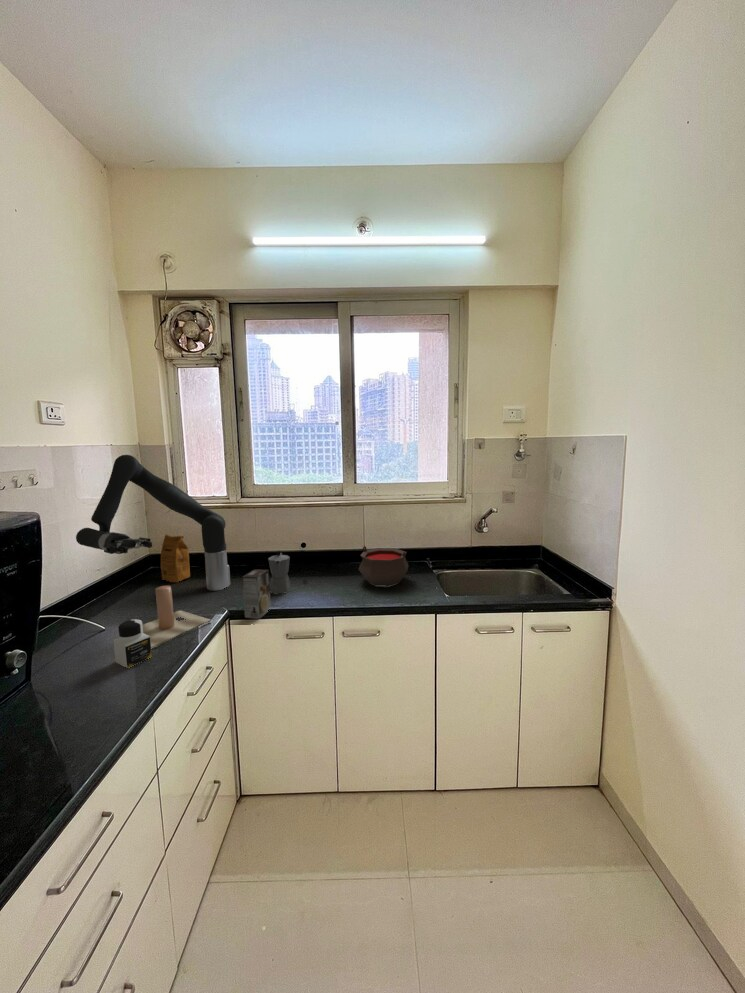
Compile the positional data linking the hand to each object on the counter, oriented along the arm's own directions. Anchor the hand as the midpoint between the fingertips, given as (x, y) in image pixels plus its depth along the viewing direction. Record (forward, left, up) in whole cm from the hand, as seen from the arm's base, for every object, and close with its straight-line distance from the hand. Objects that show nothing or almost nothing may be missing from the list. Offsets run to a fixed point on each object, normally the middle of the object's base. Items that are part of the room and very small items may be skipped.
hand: (139, 547), depth 140 cm
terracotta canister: (0, +13, -27) cm, 30 cm away
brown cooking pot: (-78, +57, -28) cm, 101 cm away
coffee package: (-35, -35, -28) cm, 57 cm away
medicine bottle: (+17, +23, -28) cm, 40 cm away
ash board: (0, +13, -28) cm, 31 cm away
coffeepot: (-48, +21, -28) cm, 60 cm away
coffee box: (-25, +31, -28) cm, 49 cm away
